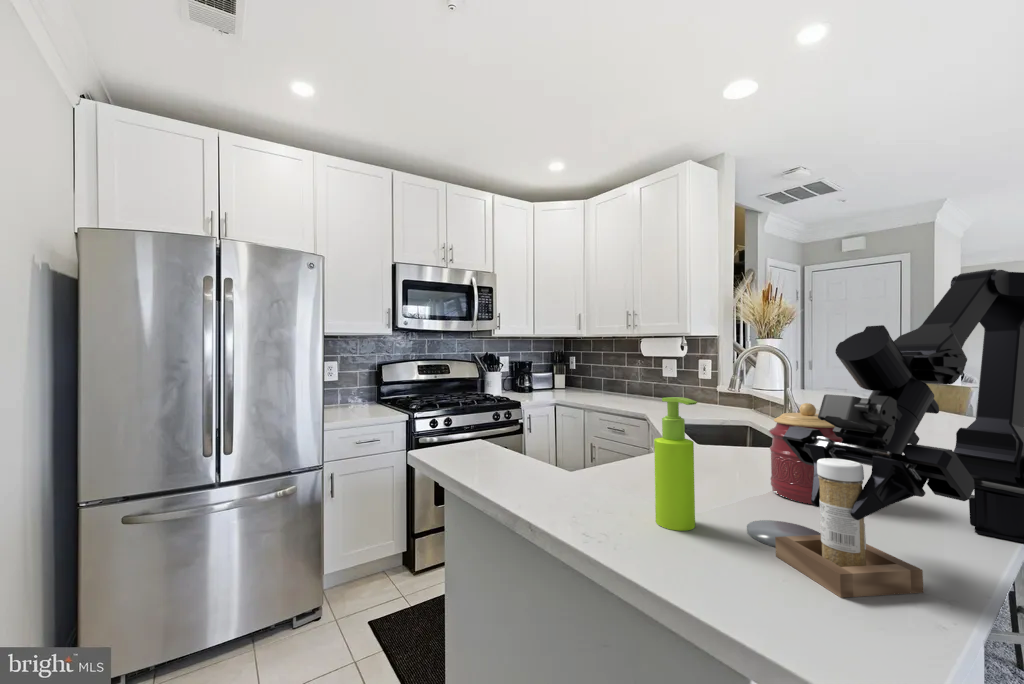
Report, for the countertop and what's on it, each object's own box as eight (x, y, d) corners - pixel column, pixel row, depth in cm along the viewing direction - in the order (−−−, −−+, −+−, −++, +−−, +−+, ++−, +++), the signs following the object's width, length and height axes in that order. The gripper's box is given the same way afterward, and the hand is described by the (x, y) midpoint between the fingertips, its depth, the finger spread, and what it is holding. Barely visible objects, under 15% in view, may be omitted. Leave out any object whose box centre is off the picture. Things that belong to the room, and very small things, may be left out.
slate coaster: (835, 537, 63) (835, 533, 63) (817, 559, 56) (817, 554, 56) (759, 519, 70) (759, 515, 70) (736, 536, 63) (736, 532, 63)
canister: (773, 482, 91) (771, 399, 92) (851, 493, 83) (848, 402, 84) (767, 498, 80) (764, 404, 81) (856, 513, 73) (852, 408, 74)
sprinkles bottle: (873, 575, 52) (869, 462, 52) (859, 586, 49) (854, 467, 50) (829, 560, 55) (825, 455, 56) (813, 570, 53) (810, 460, 53)
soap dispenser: (682, 536, 63) (679, 399, 64) (647, 520, 69) (645, 396, 70) (709, 528, 66) (706, 398, 67) (673, 514, 72) (671, 395, 73)
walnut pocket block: (845, 552, 58) (844, 533, 58) (923, 592, 48) (922, 569, 48) (775, 556, 57) (775, 536, 57) (840, 597, 47) (840, 574, 47)
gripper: (789, 370, 63) (733, 451, 59) (953, 374, 46) (888, 489, 42) (829, 421, 66) (777, 503, 62) (1000, 444, 48) (942, 560, 44)
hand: (833, 510), depth 52 cm, fingers closed on sprinkles bottle, 4 cm apart
